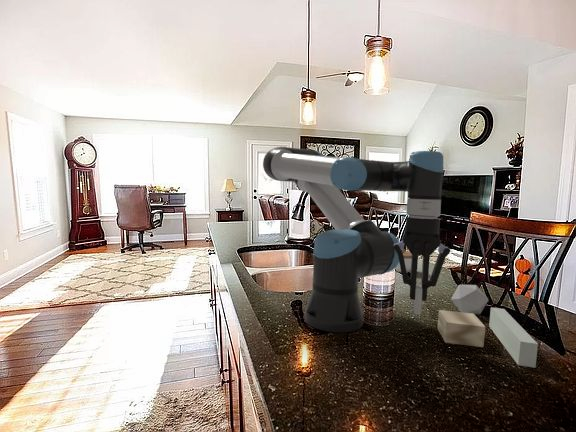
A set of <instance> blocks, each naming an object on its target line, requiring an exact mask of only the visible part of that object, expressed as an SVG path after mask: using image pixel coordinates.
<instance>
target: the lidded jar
mask: <svg viewBox="0 0 576 432" xmlns="http://www.w3.org/2000/svg"><path fill="white" fill-rule="evenodd" d="M402 252H403V256H404V261H405V266H406V271H407V274H408V272H409V273H411V261H412V254H411V253H410V251H409V250H408V251H407V250H406V249H405V248H404V250H403V251H402ZM395 269H396V271H395V272H397V273H401V268H400V263H398V265H397V266H396V268H395ZM395 269H394V270H395Z"/></svg>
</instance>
